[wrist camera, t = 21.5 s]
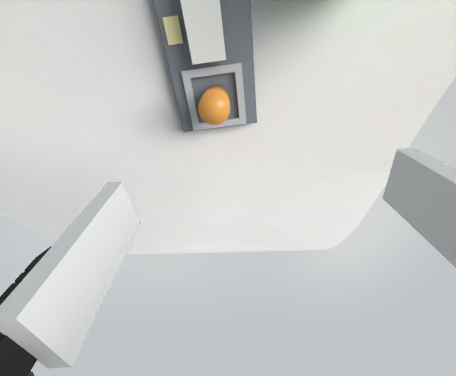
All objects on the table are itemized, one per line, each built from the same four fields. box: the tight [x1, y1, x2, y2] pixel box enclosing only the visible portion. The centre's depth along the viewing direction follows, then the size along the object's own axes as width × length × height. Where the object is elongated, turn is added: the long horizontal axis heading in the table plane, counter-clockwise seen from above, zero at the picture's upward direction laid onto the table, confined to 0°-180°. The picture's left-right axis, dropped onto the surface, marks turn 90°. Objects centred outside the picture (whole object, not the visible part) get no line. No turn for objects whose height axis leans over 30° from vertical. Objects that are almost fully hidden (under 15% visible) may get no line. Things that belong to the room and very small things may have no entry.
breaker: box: [180, 0, 226, 65], centre depth 27 cm, size 8×4×2 cm, turn 7°
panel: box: [154, 0, 257, 132], centre depth 30 cm, size 26×12×3 cm, turn 7°
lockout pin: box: [198, 84, 230, 125], centre depth 31 cm, size 4×4×7 cm
